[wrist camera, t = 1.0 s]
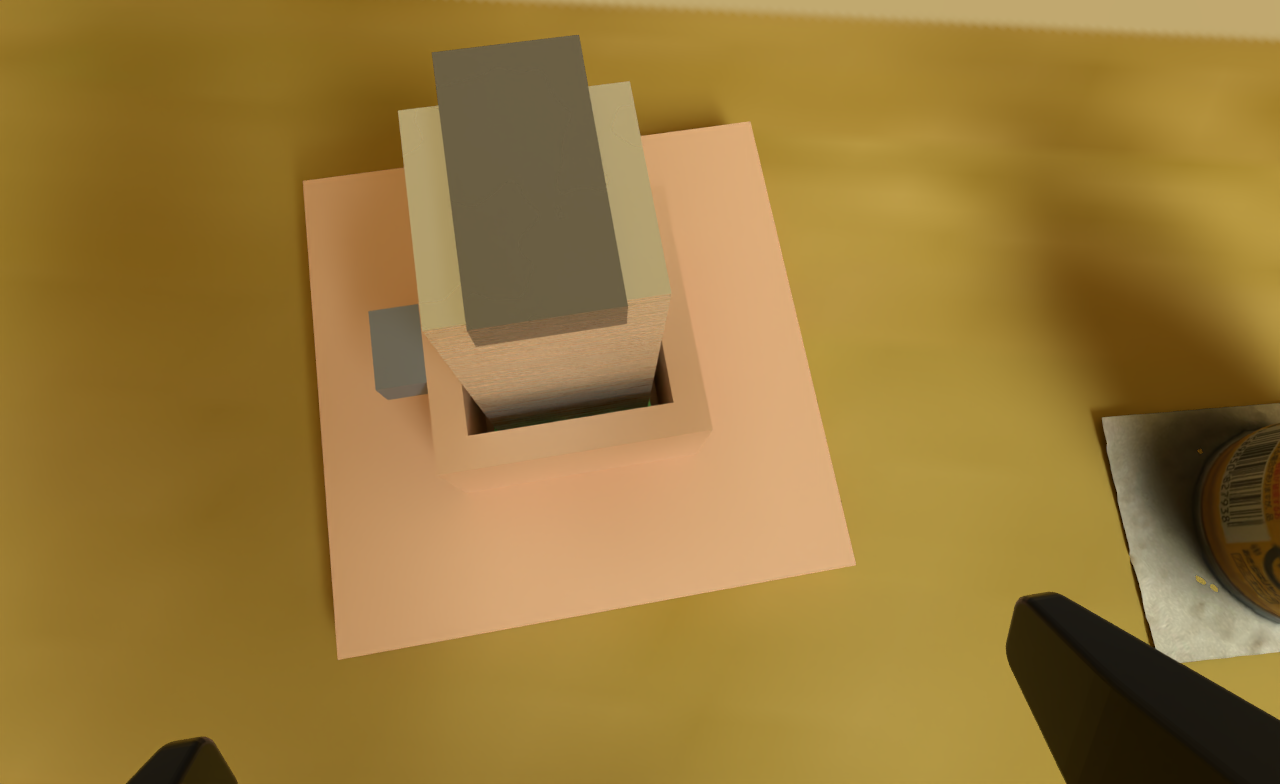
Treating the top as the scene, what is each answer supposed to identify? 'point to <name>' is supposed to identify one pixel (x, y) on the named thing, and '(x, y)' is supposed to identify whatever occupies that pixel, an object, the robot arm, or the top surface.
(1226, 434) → the condiment
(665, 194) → the stand
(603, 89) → the column
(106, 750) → the top surface
